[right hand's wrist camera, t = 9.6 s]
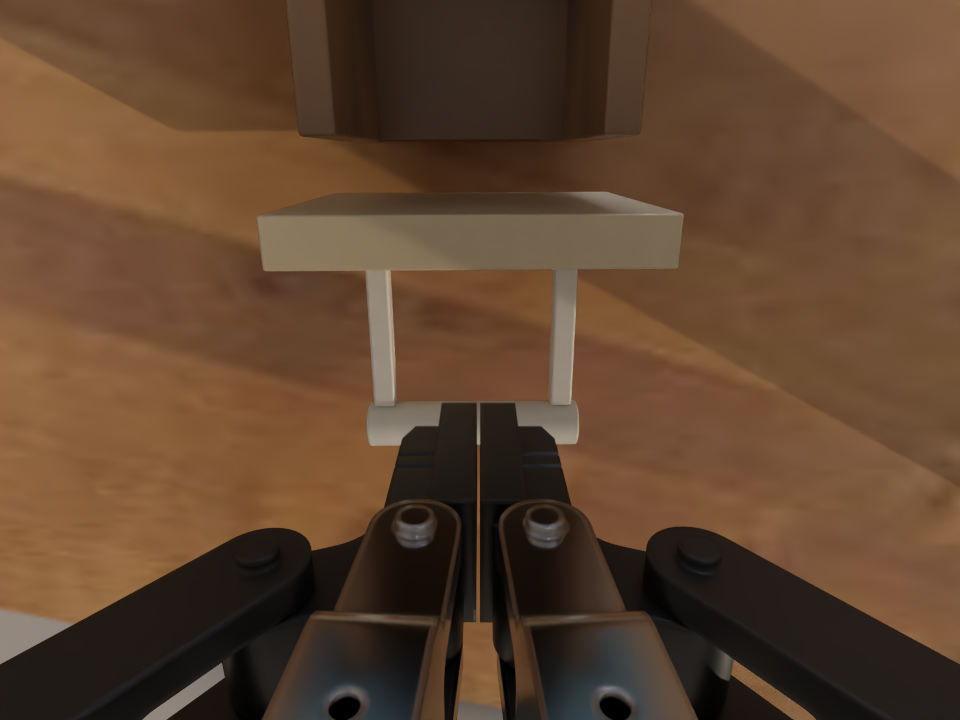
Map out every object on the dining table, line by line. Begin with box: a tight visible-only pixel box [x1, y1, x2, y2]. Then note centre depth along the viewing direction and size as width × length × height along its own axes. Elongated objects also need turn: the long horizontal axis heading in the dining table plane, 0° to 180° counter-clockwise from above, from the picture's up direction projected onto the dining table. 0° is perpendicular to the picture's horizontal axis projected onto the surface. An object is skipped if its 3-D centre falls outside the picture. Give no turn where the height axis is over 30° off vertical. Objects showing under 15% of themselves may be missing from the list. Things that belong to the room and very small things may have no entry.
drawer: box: [256, 0, 684, 446], centre depth 15 cm, size 23×9×8 cm, turn 0°
